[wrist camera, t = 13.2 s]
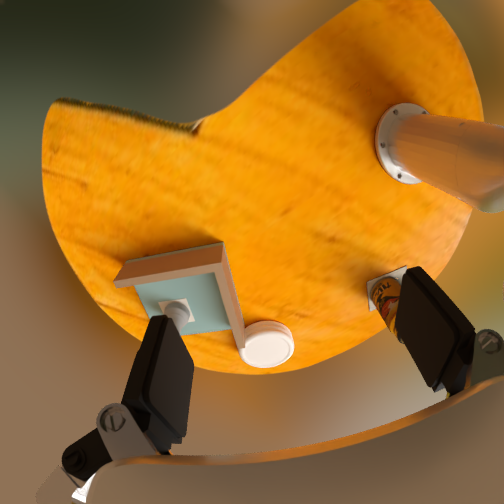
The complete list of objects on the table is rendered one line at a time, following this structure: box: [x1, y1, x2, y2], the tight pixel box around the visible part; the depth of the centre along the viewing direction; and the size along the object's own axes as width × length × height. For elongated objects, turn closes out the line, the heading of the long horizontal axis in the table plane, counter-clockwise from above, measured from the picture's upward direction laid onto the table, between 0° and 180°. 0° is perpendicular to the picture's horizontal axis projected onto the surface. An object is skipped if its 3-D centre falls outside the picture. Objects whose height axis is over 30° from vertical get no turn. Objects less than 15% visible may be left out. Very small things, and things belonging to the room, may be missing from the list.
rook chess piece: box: [163, 303, 190, 336], centre depth 40 cm, size 4×4×8 cm
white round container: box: [239, 321, 294, 368], centre depth 48 cm, size 10×10×4 cm
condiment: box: [367, 266, 407, 344], centre depth 40 cm, size 7×8×12 cm
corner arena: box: [113, 242, 245, 349], centre depth 41 cm, size 16×16×6 cm
